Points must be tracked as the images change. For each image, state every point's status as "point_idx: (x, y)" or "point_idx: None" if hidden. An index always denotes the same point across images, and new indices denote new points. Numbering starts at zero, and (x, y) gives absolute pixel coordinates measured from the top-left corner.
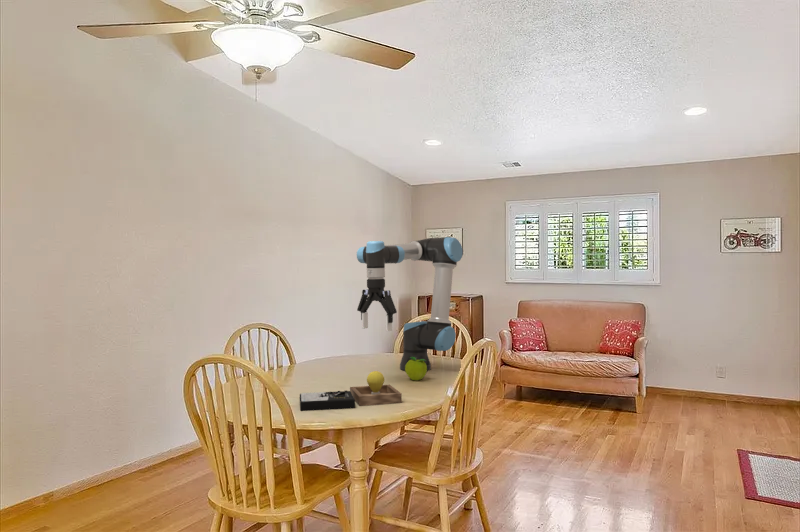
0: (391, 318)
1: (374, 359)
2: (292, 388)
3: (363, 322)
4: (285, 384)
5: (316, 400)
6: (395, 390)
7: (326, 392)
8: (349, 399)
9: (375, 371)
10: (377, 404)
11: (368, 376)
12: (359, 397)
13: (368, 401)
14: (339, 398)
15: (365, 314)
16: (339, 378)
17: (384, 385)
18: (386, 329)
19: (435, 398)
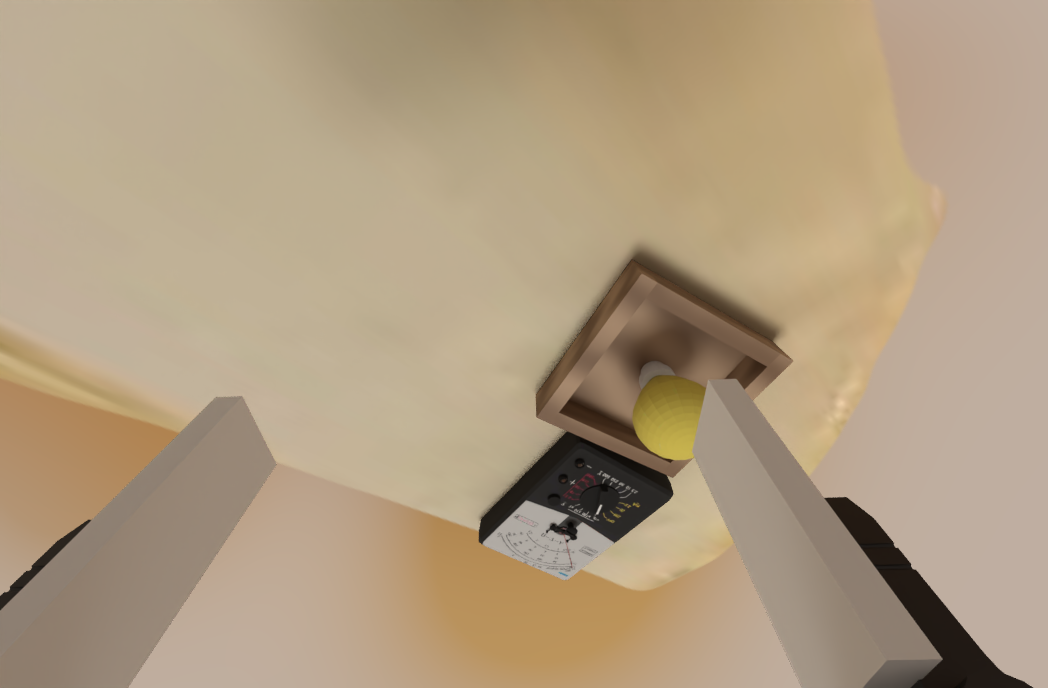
0: (896, 595)
1: None
2: (293, 455)
3: (225, 540)
4: None
5: (591, 559)
6: (740, 341)
7: (572, 532)
8: (662, 505)
9: (690, 449)
10: None
11: (661, 456)
12: (672, 475)
13: None
14: (628, 516)
15: (80, 665)
16: (187, 209)
17: (636, 306)
18: (707, 467)
19: (889, 183)
